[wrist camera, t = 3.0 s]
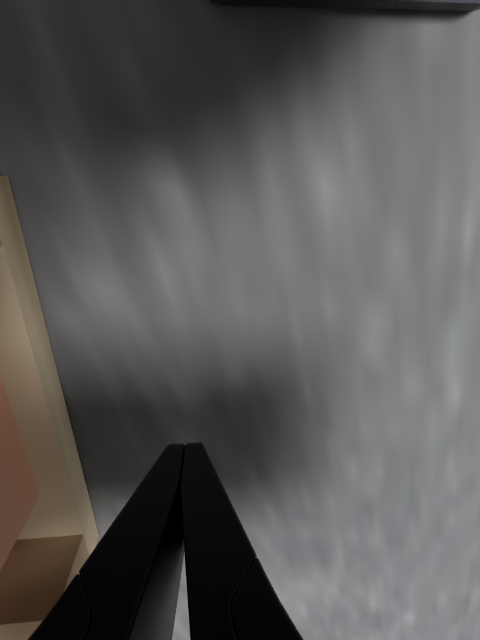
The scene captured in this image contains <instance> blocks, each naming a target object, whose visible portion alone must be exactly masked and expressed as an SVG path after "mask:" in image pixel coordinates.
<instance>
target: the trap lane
mask: <svg viewBox="0 0 480 640" xmlns="http://www.w3.org/2000/svg"><path fill="white" fill-rule="evenodd" d="M0 377H1V380H2V383H3V386H4V389H5V392H6V395H7V398H8V401H9V404H10V407H11V410H12V413H13V416H14V419H15V422H16V425H17V428H18V431H19V434H20V437H21V440H22V443H23V446H24V449H25V452H26V456H27V459H28V462H29V465H30V468H31V471H32V474H33V477H34V480H35V483H36V486H37V489H38V492H39V495H40V496H39V498H38V499H37V501H36V503H35V505H34V507H33V509H32V511H31V513H30V515H29V517H28V519H27V521H26V523H25V525H24V526H23V528H22V530H21V532H20V534H19V536H18V538H17V540H16V542H15V544H14V546H13V548H12V550H11V552H10V553H9V555H8V557H7V559H6V561H5V563H4V565H3V567H2V569H1V571H0V640H28V638H29V637H30V636H31V635H32V633H33V632H34V631H35V630H36V628H37V627H38V626H39V625H40V623H41V622H42V621H43V619H44V618H45V617H46V615H47V614H48V613H49V611H50V610H51V609H52V607H53V606H54V605H55V603H56V602H57V600H58V599H59V598H60V596H61V595H62V594H63V592H64V591H65V589H66V588H67V587H68V585H69V584H70V582H71V581H72V579H73V578H74V577H75V575H76V574H79V570H80V568H81V567H82V566H83V564H84V563H85V561H86V560H87V559H88V557H89V556H90V554H91V553H92V551H93V550H94V549H95V547H96V543H97V540H98V537H99V534H98V530H97V526H96V522H95V518H94V514H93V510H92V506H91V502H90V498H89V494H88V491H87V487H86V483H85V479H84V475H83V471H82V467H81V463H80V459H79V455H78V451H77V447H76V443H75V439H74V435H73V431H72V427H71V423H70V419H69V415H68V411H67V407H66V403H65V400H64V396H63V392H62V388H61V384H60V380H59V376H58V372H57V368H56V364H55V360H54V356H53V352H52V348H51V344H50V340H49V336H48V332H47V328H46V324H45V320H44V316H43V312H42V309H41V305H40V301H39V297H38V293H37V289H36V285H35V281H34V277H33V273H32V269H31V265H30V261H29V257H28V253H27V249H26V245H25V241H24V237H23V233H22V229H21V225H20V221H19V217H18V214H17V210H16V206H15V202H14V198H13V194H12V190H11V186H10V182H9V178H8V175H0ZM79 575H80V574H79Z"/></svg>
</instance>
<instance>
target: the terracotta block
mask: <svg viewBox="0 0 480 640" xmlns="http://www.w3.org/2000/svg"><path fill="white" fill-rule="evenodd" d="M39 496H40V495H39V492H38V489H37V486H36V483H35V480H34V477H33V474H32V471H31V468H30V465H29V462H28V459H27V456H26V452H25V449H24V446H23V443H22V440H21V437H20V434H19V431H18V428H17V425H16V422H15V419H14V416H13V413H12V410H11V407H10V404H9V401H8V398H7V395H6V392H5V389H4V386H3V383H2V380H1V377H0V571H1V569H2V567H3V565H4V563H5V561H6V559H7V557H8V555H9V553H10V552H11V550H12V548H13V546H14V544H15V542H16V540H17V538H18V536H19V534H20V532H21V530H22V528H23V526H24V525H25V523H26V521H27V519H28V517H29V515H30V513H31V511H32V509H33V507H34V505H35V503H36V501H37V499H38V498H39Z"/></svg>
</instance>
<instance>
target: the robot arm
mask: <svg viewBox="0 0 480 640" xmlns="http://www.w3.org/2000/svg"><path fill="white" fill-rule="evenodd" d="M210 1H212V2H213V3H217V4H220V5H245V6H285V7H324V8H364V9H403V10H443V11H474V10H478V9H480V0H210ZM184 551H185V566H186V580H187V595H188V609H189V624H190V638H191V640H303V638H302V637H301V635H300V634H299V632H298V630H297V629H296V627H295V625H294V624H293V622H292V620H291V619H290V617H289V615H288V614H287V612H286V610H285V609H284V607H283V605H282V604H281V602H280V600H279V598H278V597H277V595H276V593H275V591H274V589H273V587H272V585H271V583H270V581H269V579H268V577H267V576H266V573H265V571H264V569H263V567H262V565H261V563H260V561H259V559H258V558H257V556H256V553H255V551H254V549H253V547H252V545H251V543H250V541H249V539H248V537H247V535H246V533H245V531H244V528H243V526H242V524H241V522H240V520H239V518H238V516H237V514H236V512H235V510H234V508H233V506H232V504H231V502H230V499H229V497H228V495H227V493H226V491H225V489H224V487H223V485H222V483H221V481H220V479H219V477H218V475H217V473H216V470H215V468H214V466H213V464H212V462H211V460H210V458H209V456H208V454H207V452H206V450H205V448H204V446H203V444H202V443H200V442H198V443H187V444H186V445H184V444H170V445H168V446H167V447H166V448H165V450H164V451H163V452H162V454H161V455H160V457H159V458H158V459H157V461H156V462H155V464H154V465H153V467H152V468H151V469H150V471H149V472H148V474H147V475H146V476H145V478H144V479H143V481H142V482H141V484H140V485H139V486H138V488H137V489H136V491H135V492H134V493H133V495H132V496H131V498H130V499H129V501H128V502H127V503H126V505H125V506H124V508H123V509H122V510H121V512H120V513H119V515H118V516H117V517H116V519H115V520H114V522H113V523H112V525H111V526H110V527H109V529H108V530H107V532H106V533H105V534H104V536H103V537H102V539H101V540H100V542H99V543H98V544H97V546H96V547H95V549H94V550H93V551H92V553H91V554H90V556H89V557H88V559H87V560H86V561H85V563H84V564H83V566H82V567H81V568H80V570H79V574H80V575H79V574H76V575H75V577H74V578H73V579H72V581H71V582H70V584H69V585H68V587H67V588H66V589H65V591H64V592H63V594H62V595H61V596H60V598H59V599H58V600H57V602H56V603H55V605H54V606H53V607H52V609H51V610H50V611H49V613H48V614H47V615H46V617H45V618H44V619H43V621H42V622H41V623H40V625H39V626H38V627H37V628H36V630H35V631H34V632H33V633H32V635H31V636H30V637H29V638H28V640H172V635H173V628H174V621H175V614H176V607H177V599H178V592H179V585H180V578H181V571H182V564H183V557H184Z"/></svg>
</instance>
